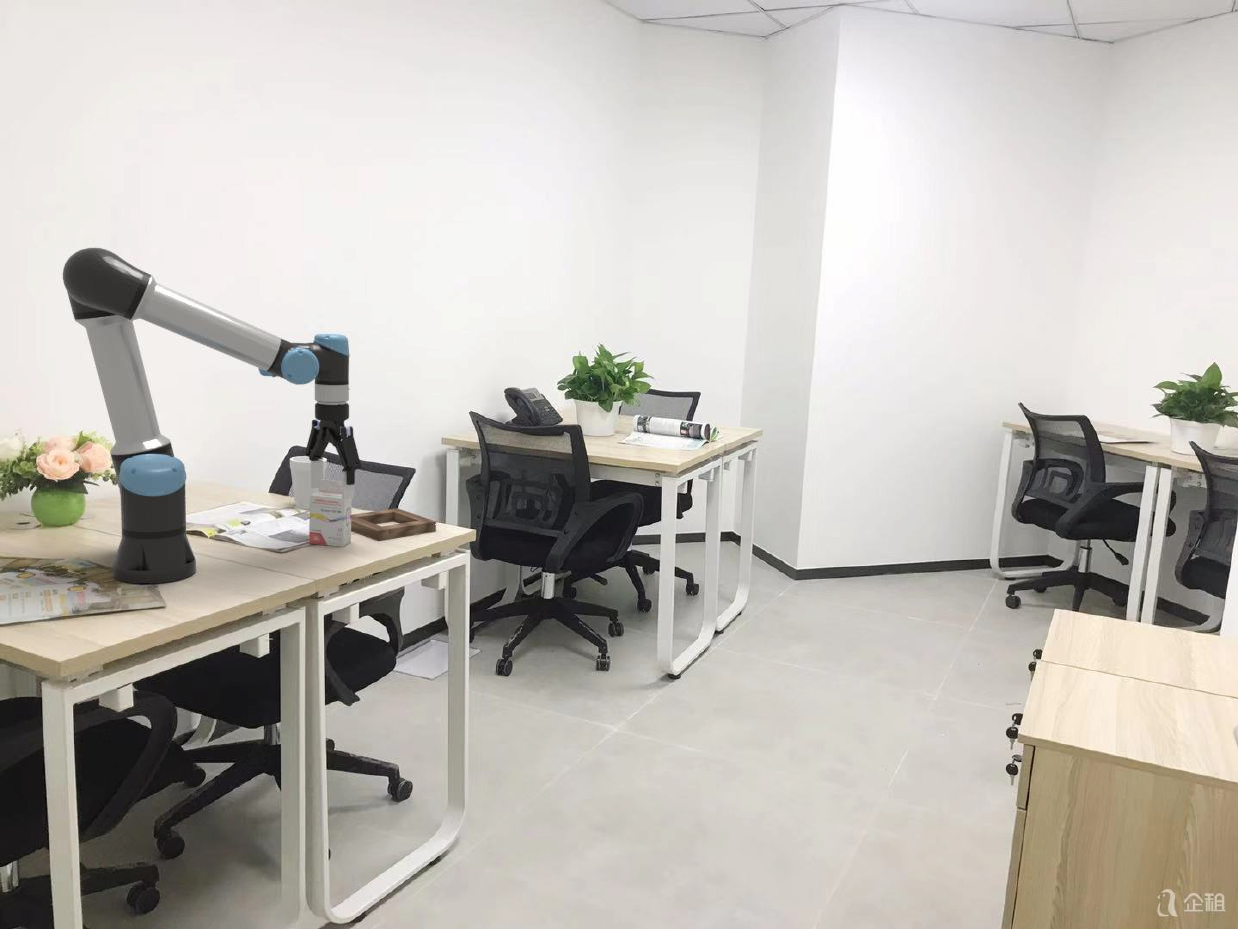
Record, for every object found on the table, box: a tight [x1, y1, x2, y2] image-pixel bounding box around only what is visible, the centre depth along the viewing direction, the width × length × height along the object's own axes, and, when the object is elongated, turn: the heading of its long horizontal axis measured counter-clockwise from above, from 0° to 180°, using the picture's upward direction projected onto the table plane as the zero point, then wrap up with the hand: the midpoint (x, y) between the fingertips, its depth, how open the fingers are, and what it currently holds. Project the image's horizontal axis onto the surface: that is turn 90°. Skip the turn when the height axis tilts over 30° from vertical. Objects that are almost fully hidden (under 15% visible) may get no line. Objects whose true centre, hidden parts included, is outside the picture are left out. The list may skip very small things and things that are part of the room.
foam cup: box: [289, 455, 328, 510], centre depth 252 cm, size 10×9×13 cm
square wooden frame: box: [351, 507, 437, 542], centre depth 236 cm, size 17×17×2 cm
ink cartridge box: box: [308, 479, 353, 548], centre depth 219 cm, size 9×5×15 cm, turn 84°
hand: (332, 493), depth 218 cm, fingers open, 13 cm apart
